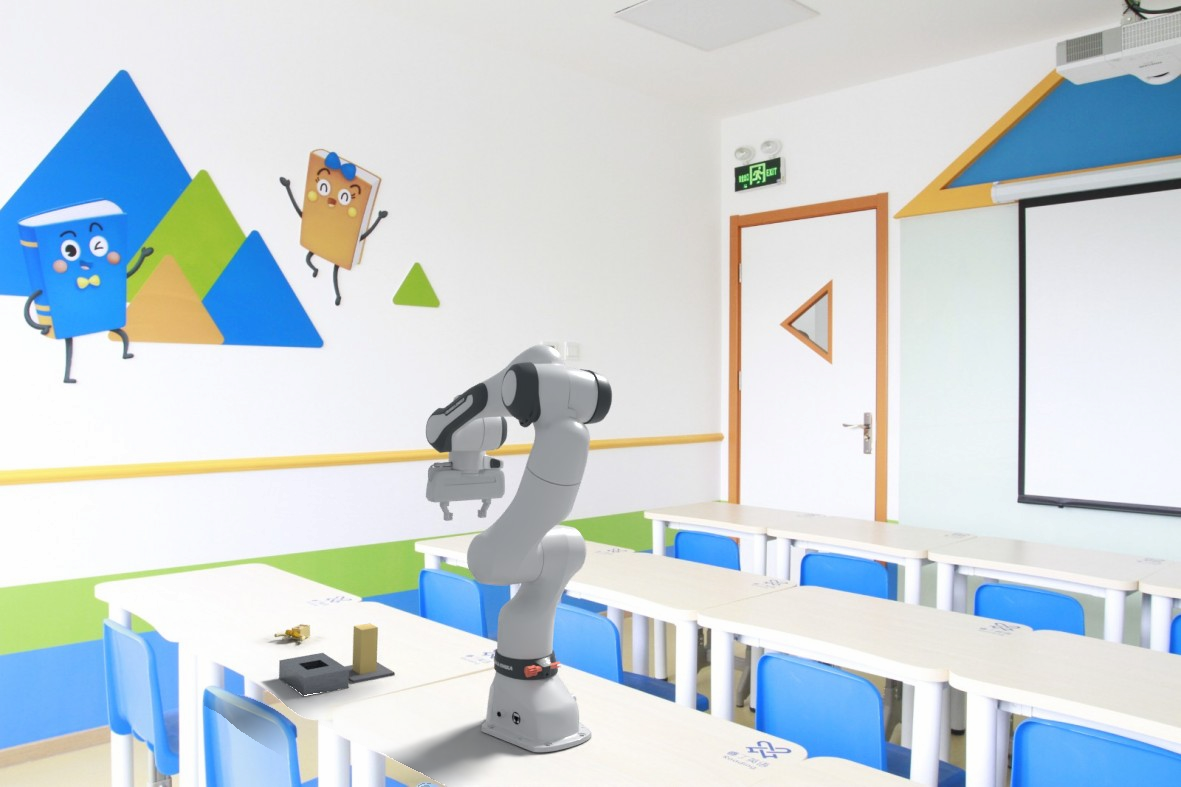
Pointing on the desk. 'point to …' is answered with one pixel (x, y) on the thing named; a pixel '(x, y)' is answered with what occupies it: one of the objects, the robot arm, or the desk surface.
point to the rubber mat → (369, 674)
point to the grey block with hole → (313, 674)
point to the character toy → (296, 632)
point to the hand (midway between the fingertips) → (465, 518)
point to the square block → (365, 648)
